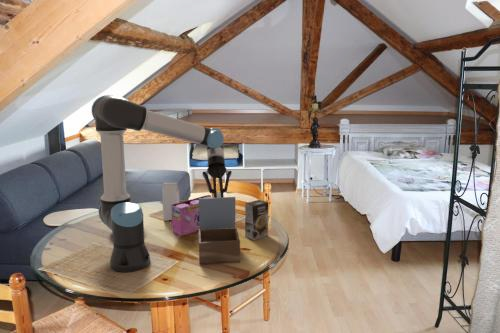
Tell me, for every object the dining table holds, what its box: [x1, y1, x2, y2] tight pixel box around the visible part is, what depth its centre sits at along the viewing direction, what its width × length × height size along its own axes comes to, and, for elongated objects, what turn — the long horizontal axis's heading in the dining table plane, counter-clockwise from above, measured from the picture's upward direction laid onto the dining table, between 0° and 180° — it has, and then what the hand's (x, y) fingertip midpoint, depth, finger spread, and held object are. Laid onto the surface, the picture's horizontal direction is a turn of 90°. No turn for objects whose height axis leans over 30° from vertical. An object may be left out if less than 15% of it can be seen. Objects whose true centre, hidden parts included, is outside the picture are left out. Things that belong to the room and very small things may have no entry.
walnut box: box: [198, 227, 241, 266], centre depth 168 cm, size 14×16×9 cm
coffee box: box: [244, 199, 269, 241], centre depth 188 cm, size 9×6×16 cm
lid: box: [198, 196, 236, 230], centre depth 172 cm, size 14×15×1 cm
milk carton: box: [161, 182, 180, 222], centre depth 211 cm, size 7×7×19 cm
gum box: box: [171, 194, 214, 237], centre depth 200 cm, size 24×8×14 cm, turn 135°
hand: (219, 206), depth 173 cm, fingers closed
